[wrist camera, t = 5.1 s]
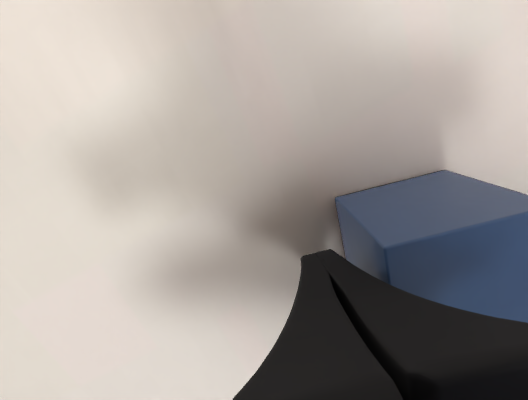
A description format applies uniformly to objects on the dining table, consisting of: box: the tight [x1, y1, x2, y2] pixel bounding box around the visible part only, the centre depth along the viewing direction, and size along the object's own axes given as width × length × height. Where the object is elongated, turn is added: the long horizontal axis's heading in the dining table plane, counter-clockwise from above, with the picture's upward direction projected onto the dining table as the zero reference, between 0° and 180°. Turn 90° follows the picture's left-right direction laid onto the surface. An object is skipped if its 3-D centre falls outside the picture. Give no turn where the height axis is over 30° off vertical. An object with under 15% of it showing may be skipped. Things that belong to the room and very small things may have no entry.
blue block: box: [335, 170, 528, 323], centre depth 10 cm, size 4×4×4 cm
